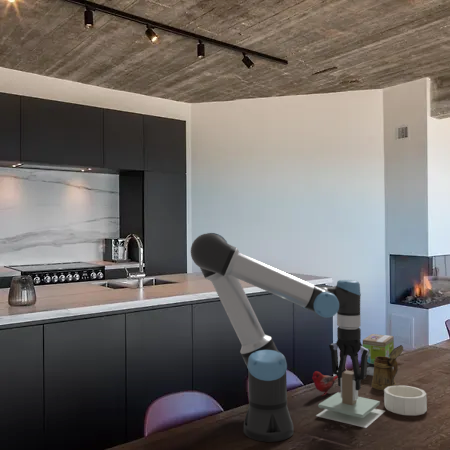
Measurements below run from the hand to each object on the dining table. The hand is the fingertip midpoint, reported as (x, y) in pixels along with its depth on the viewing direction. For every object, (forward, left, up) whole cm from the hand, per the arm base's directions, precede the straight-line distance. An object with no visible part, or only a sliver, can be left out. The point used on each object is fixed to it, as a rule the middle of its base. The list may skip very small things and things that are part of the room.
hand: (349, 397), depth 159 cm
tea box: (-10, +53, -6) cm, 54 cm away
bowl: (+13, +15, -6) cm, 21 cm away
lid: (0, 0, -3) cm, 3 cm away
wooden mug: (+1, +33, -6) cm, 34 cm away
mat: (0, 0, -6) cm, 6 cm away
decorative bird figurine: (-15, +14, -6) cm, 21 cm away
